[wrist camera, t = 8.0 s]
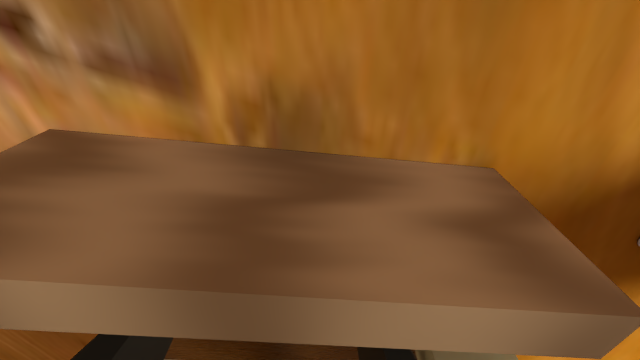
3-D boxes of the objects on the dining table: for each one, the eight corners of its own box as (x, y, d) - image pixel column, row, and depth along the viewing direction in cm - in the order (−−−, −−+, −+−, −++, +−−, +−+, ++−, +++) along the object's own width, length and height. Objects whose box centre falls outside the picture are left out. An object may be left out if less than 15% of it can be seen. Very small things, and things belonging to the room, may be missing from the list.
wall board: (493, 168, 11) (650, 317, 6) (477, 202, 12) (600, 358, 7) (49, 129, 10) (-236, 265, 5) (66, 169, 11) (-161, 321, 6)
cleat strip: (411, 337, 17) (420, 370, 15) (405, 348, 18) (414, 381, 16) (132, 322, 16) (113, 356, 14) (137, 334, 17) (119, 368, 15)
